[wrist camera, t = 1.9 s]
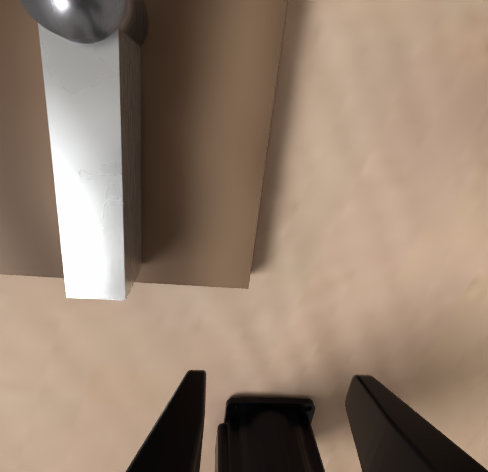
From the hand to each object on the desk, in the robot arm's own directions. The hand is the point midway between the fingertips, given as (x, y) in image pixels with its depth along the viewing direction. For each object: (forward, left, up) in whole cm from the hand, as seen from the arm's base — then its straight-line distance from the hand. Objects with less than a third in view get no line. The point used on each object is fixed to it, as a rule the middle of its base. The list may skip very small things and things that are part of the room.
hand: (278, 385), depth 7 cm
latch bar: (+7, -4, -9) cm, 12 cm away
